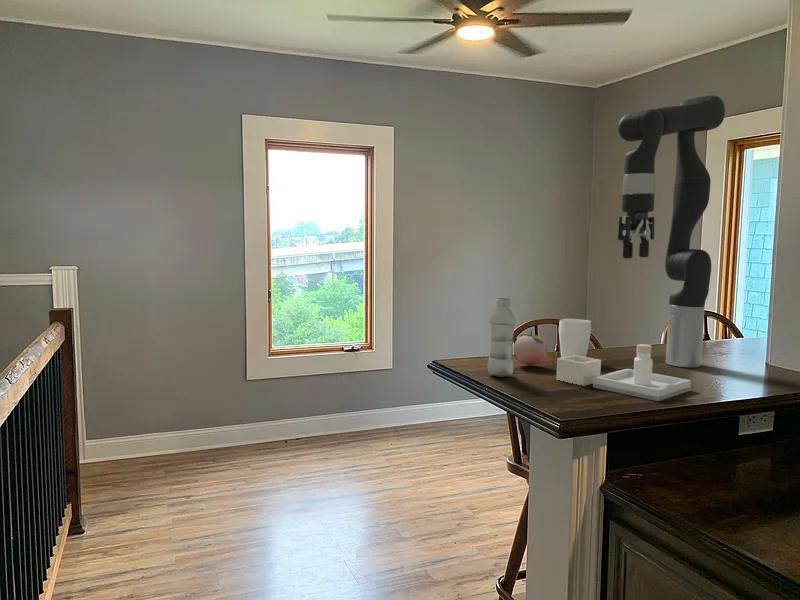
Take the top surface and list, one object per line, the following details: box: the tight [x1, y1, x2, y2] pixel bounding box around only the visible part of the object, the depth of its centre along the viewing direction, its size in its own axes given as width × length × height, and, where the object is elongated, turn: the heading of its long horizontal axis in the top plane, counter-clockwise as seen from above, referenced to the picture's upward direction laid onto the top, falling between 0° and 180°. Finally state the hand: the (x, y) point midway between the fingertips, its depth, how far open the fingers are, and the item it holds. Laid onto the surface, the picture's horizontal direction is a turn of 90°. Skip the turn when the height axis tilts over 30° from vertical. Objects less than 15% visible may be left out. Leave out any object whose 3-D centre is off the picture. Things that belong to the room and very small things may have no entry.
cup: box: [558, 318, 592, 358], centre depth 175 cm, size 9×9×12 cm
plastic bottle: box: [487, 297, 517, 378], centre depth 153 cm, size 6×7×20 cm
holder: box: [555, 355, 602, 387], centre depth 150 cm, size 8×8×6 cm
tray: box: [592, 368, 692, 402], centre depth 143 cm, size 16×16×2 cm
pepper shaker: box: [633, 343, 654, 386], centre depth 142 cm, size 4×4×10 cm
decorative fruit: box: [513, 330, 549, 367], centre depth 166 cm, size 9×8×10 cm
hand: (635, 257), depth 152 cm, fingers open, 8 cm apart
